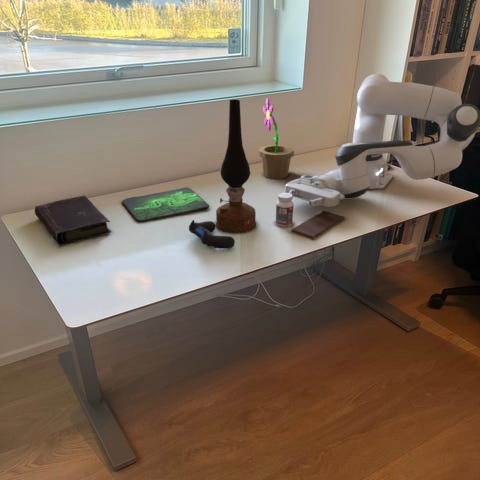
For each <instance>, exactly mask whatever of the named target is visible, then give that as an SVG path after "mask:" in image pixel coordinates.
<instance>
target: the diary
mask: <svg viewBox="0 0 480 480" xmlns="http://www.w3.org/2000/svg"><path fill="white" fill-rule="evenodd" d="M34 214H35V216H36V217H37V219H38V220H39V221H40V223H41V224H42V225H43V227H44V228H45V229H46V230H47V232H48V233H49V234H50V235H51V238H52V239H53V240H54V242H55V243H56V244H57V245H58V246H59V247H62V246H65V245H69V244H73V243H77V242H81V241H85V240H90V239H93V238H97V237H101V236H104V235H107V234H110V233H111V232H112V230H111V229H110V228H109V227H108V225H107V223H111V220H109V219H108V217H106V216H105V215H104V214H103V213H102V212H101V211H100V210H99V208H97V207H96V205H94V204H93V202H92V201H91V200H90V199H89V198H88V197H87V196H86V195H80V196H75V197H70V198H65V199H60V200H56V201H53V202H48V203H44V204H40V205H36V206H35V207H34Z"/></svg>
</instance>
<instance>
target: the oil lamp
mask: <svg viewBox="0 0 480 480" xmlns="http://www.w3.org/2000/svg"><path fill="white" fill-rule="evenodd" d="M228 110H229V111H228V113H229V114H228V136H227V137H228V138H227V146H226V150H225V154H224V157H223V161H222V163H221V166H220V176H221V179H222V180H223V182H224V183H225V184H227V185H228V187H227V188H226V189H225V190H226V193H227V196H228V200H225V202H226V203H224V204H222V205H220V206H218V207H217V208H216V209H215V215H216V216H215V218H216V222H215V226H216V227H215V228H216V229H218V230H219V231H220V232H223V233H226V234H227V233H228V234H245V233H248V232H252V231H253V230H254V229H256V227H257V222H256V209H255V207H253V205H250V204H248V203H246V202H243V201H244V200H243V196H244V194H245V191H246V189H245V188H244V187H243V185H244V184H245V183H247V181H248V180H249V179H250V176H251V170H250V169H251V168H250V164H249V162H248V159H247V157H246V156H247V155H246V153H245V149H244V146H243V145H244V144H243V136H242V119H241V100H240V99H230V100H229V109H228ZM222 202H224V199H223V198H222V197H220V198H219V203H220V204H221V203H222Z"/></svg>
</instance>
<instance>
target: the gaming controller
mask: <svg viewBox="0 0 480 480" xmlns="http://www.w3.org/2000/svg"><path fill="white" fill-rule="evenodd" d="M216 228H217V227H216V223H215V222H214V221H212V220H206V221H201V222H195V220H194V219H192V220H191V222H190V224H189V225H188V231H189V232H190V233H191V234H193V235H195V236H196V237H197V238H198V239H199V240H200V241H201V243H202V244H203V245H205V246H207V247H211V248H214V249H224V250H225V249H226V250H227V249H232V248H234V247H235V244H236V241H235V238H234V237H232V236H230V235H214V234H213V233H214V231H215V230H216Z"/></svg>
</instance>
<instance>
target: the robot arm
mask: <svg viewBox="0 0 480 480" xmlns="http://www.w3.org/2000/svg"><path fill="white" fill-rule="evenodd" d="M356 103H357V108H356V109H357V110H356V115H355V121H354V126H353V135H352V142H347V143H344V144H342V145H340V146H339V148H338V149H337V151H336V153H335V155H334V157H335V161H336V165H337V167H338V168H336V169H335V168H334V169H333V170H330V171H328V172H327V173H325V174H321V175H305V174H304V175H301V176H300V178H295V179H293V180H290V181H288V182H287V183H286V184H285V187H284V193H290V194H292V196H293V198H297V199H300V200H302V201H306V202H308V206H311V207H315V206H323V207H327V208H334V207H335V206H337V205H338V204H339V203H340V201H342V200H344V199H345V200H346V199H347V200H348V199H349V200H351V199H356V198H358V197H361V196H363V195H364V194H366V193H367V192H368V190H375V189H379V190H383V189H384V188H385V187H386V186H387V185H388V183H389V182H390V181H391V180H392V179H393V175H392V174H391V173H388V171H389V170H391V169H392V168H393V167H392V165H390V163H393V162H396V163H397V164H398V165H399V166H400V168H401V169H402V171H403V172H404V174H405V175H407V177H409V178H410V179H412V180H414V181H415V180H416V181H421V180H426V179H431V178H434V177H438V176H442V175H444V174H446V173H449V172H451V171H453V170H456V169H457V168H458V167H459V166H460V165H461V163H462V161H463V152H464V151H465V150H466V149H467V147H468V146H469V145H470V143H472V141H473V140H474V138H475V136H476V133H477V131H478V129H479V127H480V109H479V108H478V107H477V106H476V105H475V104H471V103H463V102H462V97H461V96H460V94H459V93H458V92H455V91H453V90H449V89H447V88H444V87H439V86H433V85H430V84H429V85H428V84H422V83H416V82H411V81H409V82H405V81H404V82H403V81H390V80H389V78H388V77H387V76H386V75H385V74H382V73H372V74H369V75H368V76H366V77H365V78H364V79H363V81H362V82H361V84H360V86H359V88H358V91H357V94H356ZM387 116H401V117H407V118H413V119H419V120H424V121H429V122H430V121H431V122H434V123H436V124H437V125H438V126H439V127H437V131H436V133H437V142H435V143H431V144H427V145H423V146H419V145H418V146H417V145H415V144H413V142H412V141H410V140H386V141H385V140H384V141H383V139H384V132H385V127H386V120H387ZM384 154H389V155H392V156H393V157H394V158H395V159H390V160H388V161H386V160H385V158H383V155H384Z"/></svg>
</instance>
